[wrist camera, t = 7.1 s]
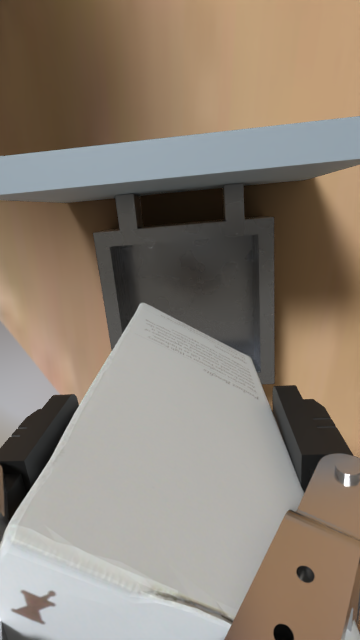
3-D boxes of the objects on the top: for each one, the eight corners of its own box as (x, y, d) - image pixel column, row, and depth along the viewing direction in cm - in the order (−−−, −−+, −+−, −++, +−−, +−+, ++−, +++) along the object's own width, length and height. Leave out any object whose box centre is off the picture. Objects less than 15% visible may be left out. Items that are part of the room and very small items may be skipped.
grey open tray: (263, 184, 25) (274, 180, 21) (265, 361, 29) (274, 385, 25) (104, 199, 26) (86, 198, 22) (128, 367, 31) (117, 391, 27)
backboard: (306, 157, 24) (394, 112, 13) (305, 179, 25) (390, 155, 13) (63, 182, 26) (-48, 161, 15) (66, 202, 26) (-38, 198, 15)
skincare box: (106, 371, 17) (-98, 707, 6) (144, 293, 16) (-23, 527, 4) (215, 423, 18) (234, 831, 6) (261, 353, 16) (399, 707, 5)
